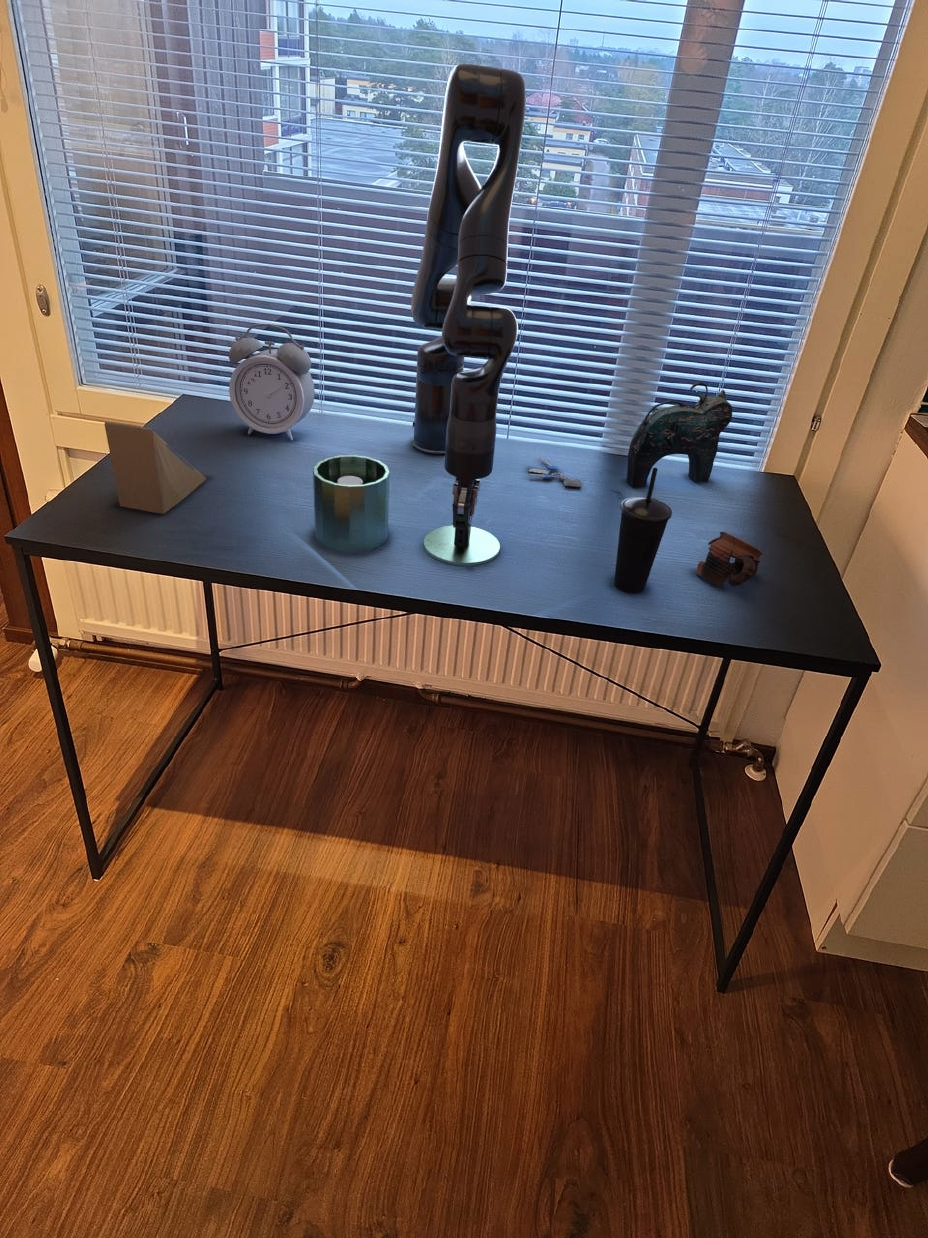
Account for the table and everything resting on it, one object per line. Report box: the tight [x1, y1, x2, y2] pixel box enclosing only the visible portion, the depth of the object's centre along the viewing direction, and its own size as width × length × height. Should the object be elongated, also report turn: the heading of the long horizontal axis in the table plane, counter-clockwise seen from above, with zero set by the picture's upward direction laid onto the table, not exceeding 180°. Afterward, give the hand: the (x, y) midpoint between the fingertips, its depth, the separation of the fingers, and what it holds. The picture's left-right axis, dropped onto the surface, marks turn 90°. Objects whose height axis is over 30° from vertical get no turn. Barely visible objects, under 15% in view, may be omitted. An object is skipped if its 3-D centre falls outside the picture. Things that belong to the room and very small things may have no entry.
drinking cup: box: [613, 467, 673, 594], centre depth 125 cm, size 8×8×20 cm
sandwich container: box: [103, 421, 208, 515], centre depth 140 cm, size 9×15×15 cm, turn 167°
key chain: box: [528, 457, 582, 488], centre depth 162 cm, size 14×8×1 cm, turn 34°
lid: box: [423, 516, 501, 567], centre depth 134 cm, size 13×13×6 cm
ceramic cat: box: [626, 381, 734, 488], centre depth 159 cm, size 20×6×20 cm, turn 108°
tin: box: [312, 454, 391, 553], centre depth 133 cm, size 12×12×12 cm
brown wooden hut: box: [695, 531, 764, 589], centre depth 133 cm, size 12×10×8 cm
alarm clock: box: [228, 323, 316, 441], centre depth 164 cm, size 16×9×22 cm, turn 81°
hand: (462, 541), depth 135 cm, fingers closed on lid, 2 cm apart
